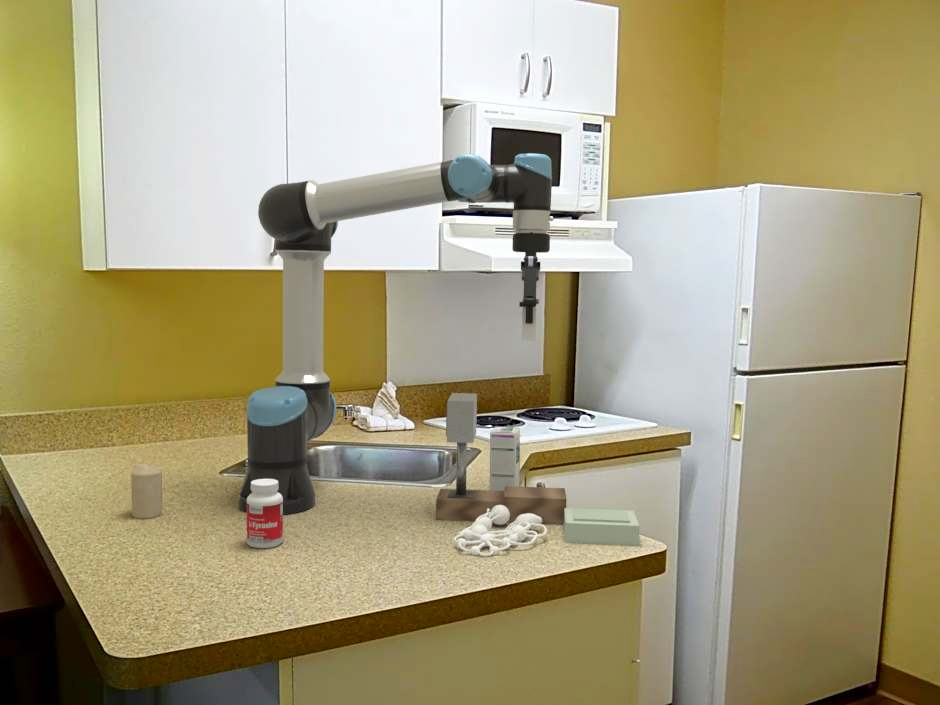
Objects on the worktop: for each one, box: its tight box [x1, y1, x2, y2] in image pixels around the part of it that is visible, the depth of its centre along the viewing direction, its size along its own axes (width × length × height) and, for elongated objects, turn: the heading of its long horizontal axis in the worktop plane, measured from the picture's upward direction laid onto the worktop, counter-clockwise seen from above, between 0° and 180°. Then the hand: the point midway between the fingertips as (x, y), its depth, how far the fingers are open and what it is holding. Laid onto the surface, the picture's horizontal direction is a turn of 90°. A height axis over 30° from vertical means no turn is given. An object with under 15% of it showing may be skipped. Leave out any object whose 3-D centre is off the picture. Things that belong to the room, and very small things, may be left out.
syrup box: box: [489, 426, 521, 491], centre depth 180 cm, size 6×6×14 cm
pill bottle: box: [246, 479, 284, 549], centre depth 147 cm, size 6×6×11 cm
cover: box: [563, 507, 640, 547], centre depth 155 cm, size 13×9×4 cm
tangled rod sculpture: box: [453, 505, 548, 557], centre depth 151 cm, size 19×14×4 cm
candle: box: [130, 462, 163, 520], centre depth 162 cm, size 6×6×10 cm
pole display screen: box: [445, 392, 478, 495], centre depth 165 cm, size 10×5×19 cm, turn 176°
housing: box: [435, 486, 567, 525], centre depth 166 cm, size 25×8×5 cm, turn 86°
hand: (528, 337), depth 172 cm, fingers open, 13 cm apart
